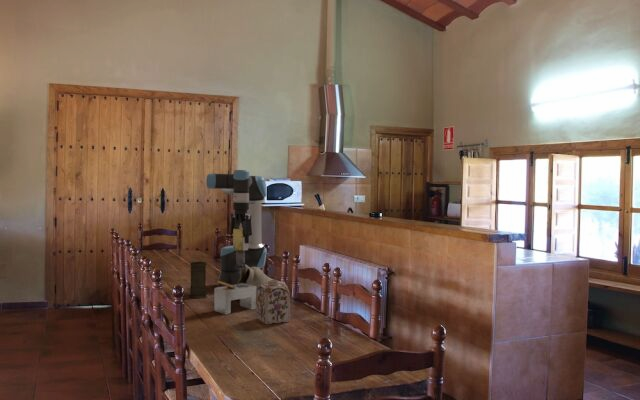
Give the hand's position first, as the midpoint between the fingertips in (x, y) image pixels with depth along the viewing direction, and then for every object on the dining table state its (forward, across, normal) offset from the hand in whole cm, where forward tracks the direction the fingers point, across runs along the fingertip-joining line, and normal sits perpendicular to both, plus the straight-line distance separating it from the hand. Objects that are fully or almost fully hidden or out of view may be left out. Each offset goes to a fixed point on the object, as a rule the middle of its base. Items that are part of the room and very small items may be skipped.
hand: (240, 249), depth 267 cm
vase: (+29, -7, +20) cm, 36 cm away
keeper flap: (+17, 0, -9) cm, 19 cm away
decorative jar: (+29, +27, -2) cm, 40 cm away
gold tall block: (+8, 0, 0) cm, 8 cm away
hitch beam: (+29, 0, -3) cm, 29 cm away
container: (+29, -36, -1) cm, 46 cm away
